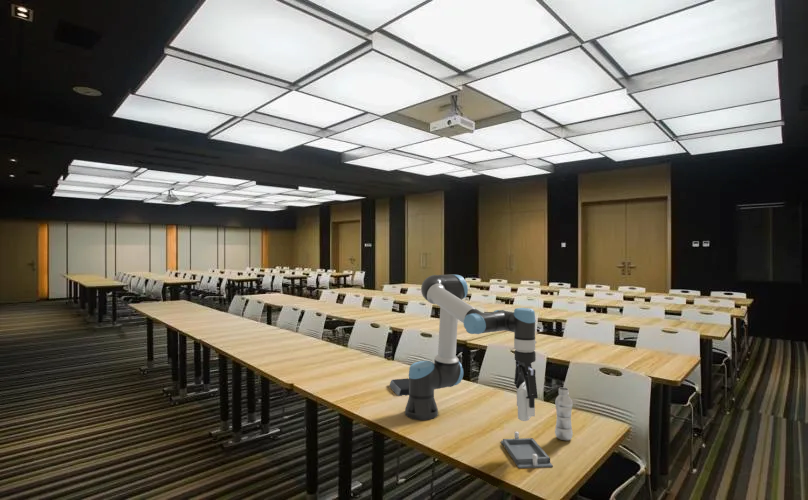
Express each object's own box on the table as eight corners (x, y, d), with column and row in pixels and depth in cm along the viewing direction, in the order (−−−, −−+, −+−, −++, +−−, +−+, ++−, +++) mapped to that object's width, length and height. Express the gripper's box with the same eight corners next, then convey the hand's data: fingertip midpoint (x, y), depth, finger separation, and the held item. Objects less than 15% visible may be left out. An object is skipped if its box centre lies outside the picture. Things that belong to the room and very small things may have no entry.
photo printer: (522, 411, 158) (522, 378, 158) (534, 413, 155) (533, 380, 156) (516, 420, 148) (516, 386, 149) (528, 422, 146) (528, 387, 147)
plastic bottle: (552, 435, 167) (551, 386, 168) (568, 435, 168) (567, 386, 168) (559, 443, 161) (559, 391, 161) (575, 442, 161) (575, 391, 162)
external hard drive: (397, 397, 215) (397, 389, 215) (388, 386, 233) (388, 378, 233) (420, 394, 218) (420, 387, 218) (410, 384, 237) (410, 376, 237)
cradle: (518, 468, 142) (518, 456, 142) (501, 442, 162) (501, 431, 162) (552, 467, 142) (552, 455, 142) (530, 441, 162) (530, 431, 162)
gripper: (547, 357, 142) (548, 422, 141) (523, 343, 164) (524, 400, 163) (526, 357, 141) (526, 422, 141) (505, 344, 163) (506, 400, 163)
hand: (525, 410), depth 152 cm, fingers closed on photo printer, 10 cm apart
